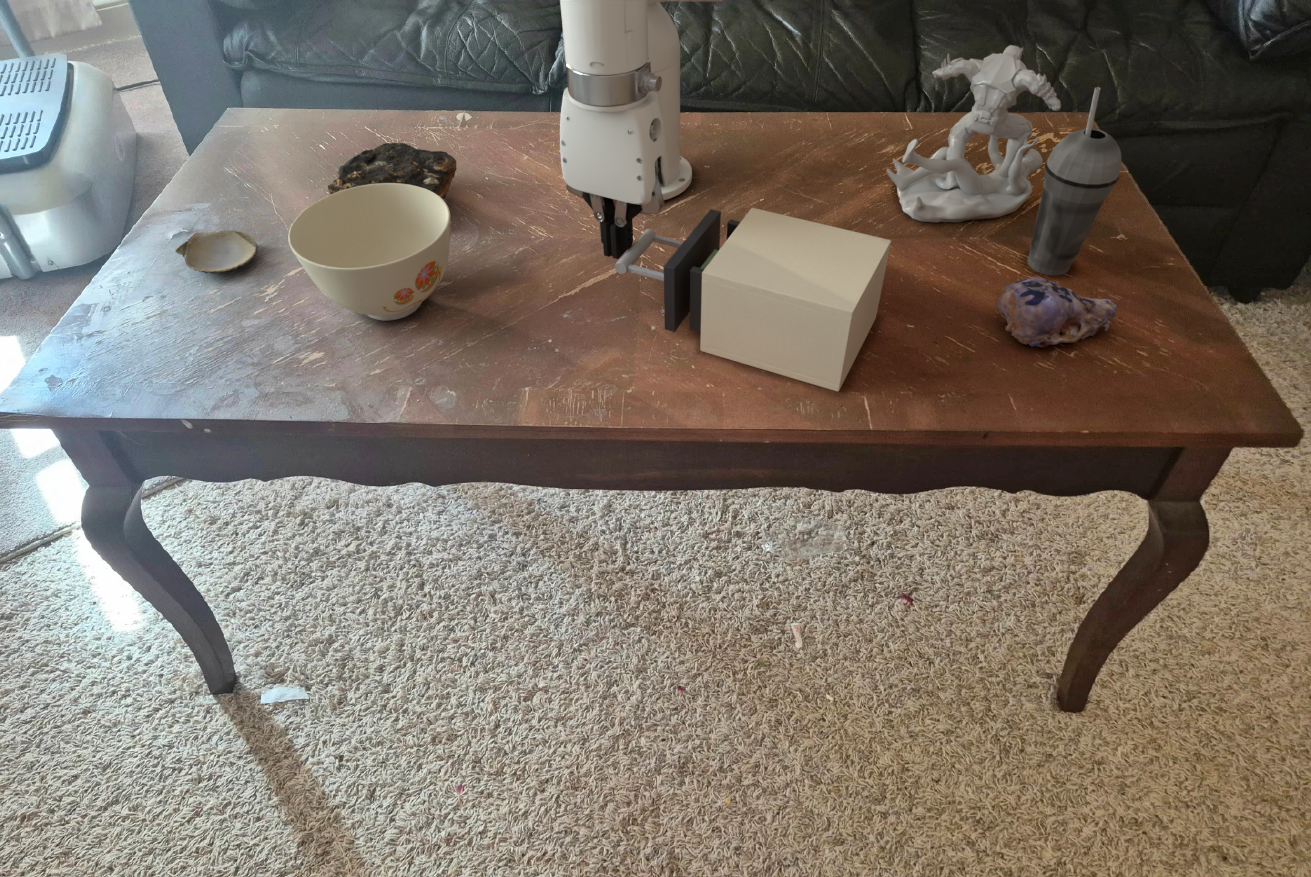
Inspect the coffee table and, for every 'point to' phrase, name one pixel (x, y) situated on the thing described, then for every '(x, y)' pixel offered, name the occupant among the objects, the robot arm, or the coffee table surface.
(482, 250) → the coffee table surface
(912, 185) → the figurine
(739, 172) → the coffee table surface
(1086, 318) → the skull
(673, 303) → the dark grey drawer
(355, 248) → the bowl
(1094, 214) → the beverage cup
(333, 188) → the fossil rock
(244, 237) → the seashell
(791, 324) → the cream drawer box
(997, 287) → the coffee table surface
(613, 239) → the robot arm
